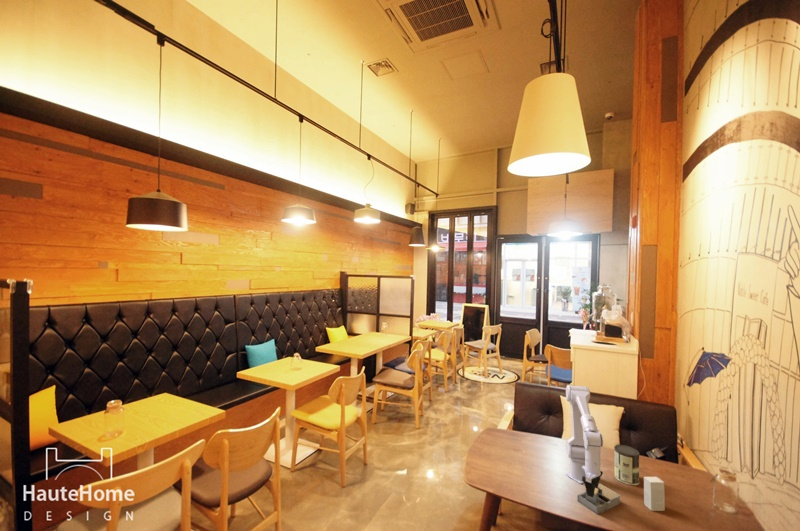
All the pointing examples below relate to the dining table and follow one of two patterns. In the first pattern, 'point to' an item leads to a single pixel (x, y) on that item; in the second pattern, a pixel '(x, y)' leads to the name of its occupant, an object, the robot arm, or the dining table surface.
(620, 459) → the coffee can
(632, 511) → the dining table surface
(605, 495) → the lid
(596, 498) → the block
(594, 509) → the case
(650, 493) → the skincare box
